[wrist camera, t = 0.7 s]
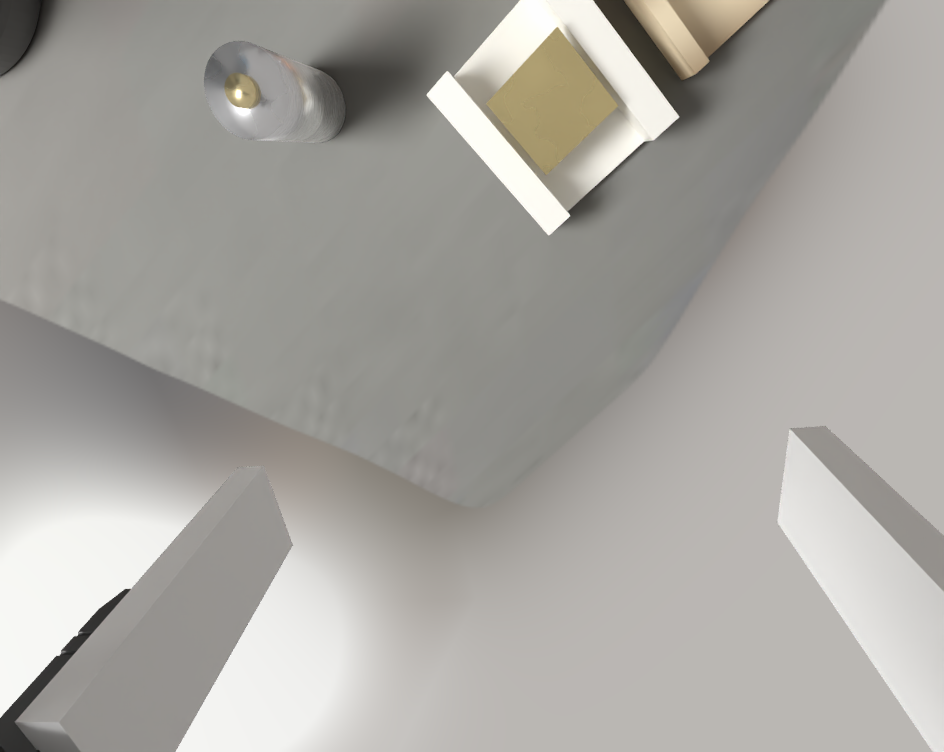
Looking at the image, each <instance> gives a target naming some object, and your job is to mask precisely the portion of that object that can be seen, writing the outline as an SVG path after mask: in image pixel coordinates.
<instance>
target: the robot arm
mask: <svg viewBox="0 0 944 752" xmlns="http://www.w3.org/2000/svg"><path fill="white" fill-rule="evenodd" d="M40 5H41V0H0V75H1V74H3V73H5V72H6V71H7V70H9V69H10V68H11V67H12V66H13V65H14V64H15V63H16V62H17V61H18V60H19V59H20V58H21V56H22V55H23V54H24V52H25V51H26V49H27V47H28V45H29V44H30V41H31V39H32V37H33V34H34V31H35V29H36V25H37V21H38V17H39V12H40ZM777 522H778V524H779V525H780V527H781V528H782V530H783V531H784V533H785V534H786V536H787V537H788V538H789V540H790V542H791V543H792V545H793V546H794V547H795V549H796V550H797V552H798V553H799V555H800V556H801V558H802V559H803V561H804V562H805V564H806V565H807V567H808V568H809V570H810V571H811V573H812V574H813V576H814V577H815V579H816V580H817V581H818V583H819V584H820V586H821V587H822V589H823V590H824V592H825V593H826V595H827V596H828V598H829V599H830V601H831V602H832V604H833V605H834V606H835V608H836V609H837V611H838V612H839V614H840V615H841V617H842V618H843V620H844V621H845V623H846V624H847V626H848V627H849V629H850V630H851V632H852V633H853V635H854V636H855V638H856V639H857V640H858V642H859V643H860V645H861V646H862V648H863V649H864V651H865V652H866V654H867V655H868V657H869V658H870V660H871V661H872V663H873V664H874V666H875V667H876V669H877V670H878V671H879V673H880V674H881V676H882V677H883V679H884V680H885V682H886V683H887V685H888V686H889V688H890V689H891V691H892V692H893V694H894V695H895V697H896V698H897V700H898V701H899V703H900V704H901V706H902V707H903V709H904V710H905V712H906V713H907V714H908V716H909V717H910V719H911V720H912V722H913V723H914V725H915V726H916V728H917V729H918V731H919V732H920V734H921V735H922V736H923V738H924V739H925V741H926V743H927V744H928V745H929V747H930V748H931V750H932V751H933V752H944V536H943V535H942V534H941V533H940V532H939V531H938V530H937V529H936V528H935V527H934V526H933V525H931V524H930V523H929V522H928V521H927V520H926V519H925V518H924V517H923V516H922V515H921V514H920V513H919V512H918V511H916V510H915V509H914V508H913V507H912V506H911V505H910V504H909V503H908V502H907V501H906V500H905V499H904V498H902V497H901V496H900V495H899V494H898V493H897V492H896V491H895V490H894V489H893V488H892V487H891V486H890V485H888V484H887V483H886V482H885V481H884V480H883V479H882V478H881V477H880V476H879V475H878V474H877V473H875V472H874V471H873V470H872V469H871V468H870V467H869V466H868V465H867V464H866V463H865V462H864V461H863V460H861V459H860V458H859V457H858V456H857V455H856V454H855V453H854V452H853V451H852V450H851V449H850V448H849V447H848V446H846V445H845V444H844V443H843V442H842V441H841V440H840V439H839V438H838V437H837V436H836V435H835V434H833V433H832V432H831V431H830V430H829V429H828V428H827V427H826V426H820V427H806V428H791V429H790V431H789V438H788V447H787V453H786V461H785V469H784V476H783V484H782V492H781V499H780V506H779V514H778V521H777ZM292 546H293V545H292V542H291V539H290V536H289V534H288V531H287V528H286V525H285V522H284V520H283V517H282V514H281V511H280V509H279V506H278V503H277V500H276V498H275V495H274V492H273V489H272V487H271V484H270V481H269V479H268V476H267V473H266V470H265V467H264V466H253V467H240V468H239V467H238V468H237V469H236V470H235V471H234V472H233V473H232V474H231V475H230V477H229V478H228V479H227V480H226V481H225V482H224V484H223V485H222V486H221V487H220V488H219V489H218V490H217V492H216V493H215V494H214V495H213V496H212V497H211V498H210V499H209V501H208V502H207V503H206V504H205V505H204V506H203V507H202V509H201V510H200V511H199V512H198V513H197V514H196V516H195V517H194V518H193V519H192V520H191V521H190V522H189V524H188V525H187V526H186V527H185V528H184V529H183V530H182V532H181V533H180V534H179V535H178V536H177V537H176V538H175V539H174V541H173V542H172V543H171V544H170V545H169V546H168V547H167V549H166V550H165V551H164V552H163V553H162V554H161V555H160V557H159V558H158V559H157V560H156V561H155V562H154V564H153V565H152V566H151V567H150V568H149V569H148V570H147V572H146V573H145V574H144V575H143V576H142V577H141V578H140V579H139V581H138V582H137V583H136V584H135V585H134V586H133V588H132V589H125V590H124V591H122V592H121V593H119V594H118V595H117V596H116V597H114V598H113V599H112V600H110V601H109V602H108V603H106V604H105V605H104V606H102V607H101V608H100V609H99V610H98V611H97V612H96V613H95V614H94V615H93V616H92V617H91V618H90V620H89V621H88V622H87V623H86V624H85V625H84V626H83V627H82V628H81V629H80V631H79V632H78V636H75V637H73V638H72V639H71V640H70V642H69V643H68V644H67V645H66V646H65V647H64V648H63V649H62V650H61V655H60V656H56V657H55V658H54V659H53V660H52V661H51V663H50V664H49V665H48V666H47V667H46V668H45V669H44V670H43V671H42V672H41V674H40V675H39V676H38V677H37V678H36V679H35V680H34V681H33V682H32V684H31V685H30V686H29V687H28V688H27V689H26V690H25V691H24V692H23V693H22V695H21V696H20V697H19V698H18V699H17V700H16V701H15V702H14V703H13V704H12V706H11V707H10V708H9V709H8V710H7V711H6V712H5V713H4V714H3V716H2V717H1V718H0V752H175V751H176V749H177V748H178V746H179V744H180V743H181V741H182V739H183V737H184V735H185V734H186V732H187V730H188V728H189V726H190V725H191V723H192V721H193V719H194V718H195V716H196V714H197V713H198V711H199V709H200V707H201V706H202V704H203V702H204V700H205V699H206V697H207V695H208V693H209V692H210V690H211V688H212V686H213V685H214V682H215V681H216V679H217V677H218V676H219V674H220V672H221V670H222V669H223V667H224V665H225V663H226V662H227V660H228V658H229V656H230V655H231V653H232V651H233V649H234V648H235V646H236V644H237V642H238V640H239V639H240V637H241V635H242V633H243V632H244V630H245V628H246V626H247V625H248V623H249V621H250V619H251V618H252V616H253V614H254V612H255V611H256V609H257V607H258V605H259V604H260V602H261V600H262V598H263V597H264V595H265V593H266V591H267V589H268V588H269V586H270V584H271V582H272V581H273V579H274V577H275V575H276V574H277V572H278V570H279V568H280V567H281V565H282V563H283V561H284V559H285V558H286V556H287V554H288V552H289V551H290V549H291V547H292Z"/></svg>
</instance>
